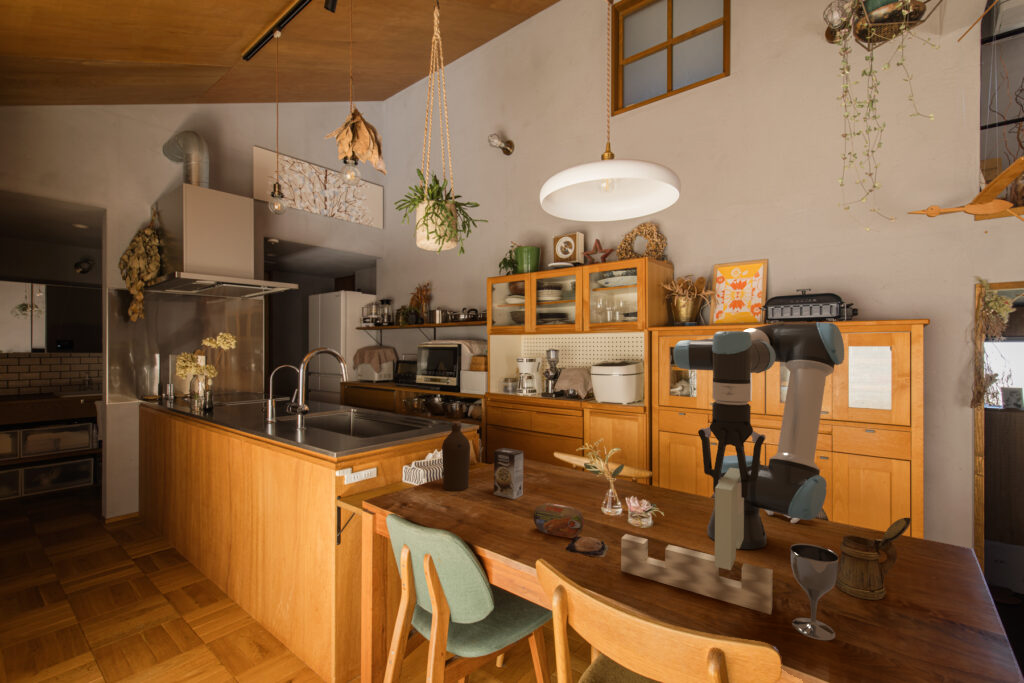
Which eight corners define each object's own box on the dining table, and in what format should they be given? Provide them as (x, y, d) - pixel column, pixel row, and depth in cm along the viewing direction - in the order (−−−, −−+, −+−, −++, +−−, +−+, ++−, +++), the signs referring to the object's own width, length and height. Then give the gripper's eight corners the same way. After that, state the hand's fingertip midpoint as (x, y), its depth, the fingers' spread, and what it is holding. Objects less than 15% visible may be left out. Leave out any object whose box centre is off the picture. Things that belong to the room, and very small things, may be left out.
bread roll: (609, 548, 128) (609, 534, 128) (604, 561, 120) (604, 547, 120) (571, 541, 132) (572, 528, 132) (563, 553, 124) (564, 539, 124)
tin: (532, 531, 137) (532, 502, 137) (537, 527, 140) (537, 499, 140) (581, 541, 130) (581, 511, 130) (585, 537, 133) (585, 507, 133)
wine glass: (794, 636, 89) (794, 557, 89) (786, 613, 96) (786, 540, 96) (843, 646, 86) (844, 564, 86) (831, 621, 94) (832, 547, 93)
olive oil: (475, 486, 178) (476, 421, 178) (455, 493, 170) (456, 425, 170) (456, 481, 185) (456, 418, 185) (435, 487, 176) (436, 421, 176)
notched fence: (621, 571, 114) (621, 538, 114) (625, 566, 116) (625, 533, 116) (770, 614, 96) (771, 575, 96) (772, 607, 98) (772, 569, 98)
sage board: (730, 570, 93) (731, 490, 93) (714, 566, 95) (715, 487, 95) (743, 538, 108) (744, 469, 108) (729, 535, 110) (730, 467, 110)
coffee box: (492, 494, 169) (493, 450, 169) (503, 490, 174) (503, 447, 174) (513, 499, 164) (513, 453, 164) (523, 494, 169) (524, 450, 169)
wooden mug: (916, 610, 98) (916, 524, 97) (837, 593, 104) (838, 512, 104) (905, 591, 105) (906, 511, 105) (833, 575, 112) (833, 501, 112)
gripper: (688, 401, 103) (687, 507, 103) (771, 407, 94) (770, 523, 94) (696, 397, 109) (695, 498, 109) (775, 403, 100) (774, 512, 100)
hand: (730, 509), depth 101 cm, fingers closed on sage board, 3 cm apart
